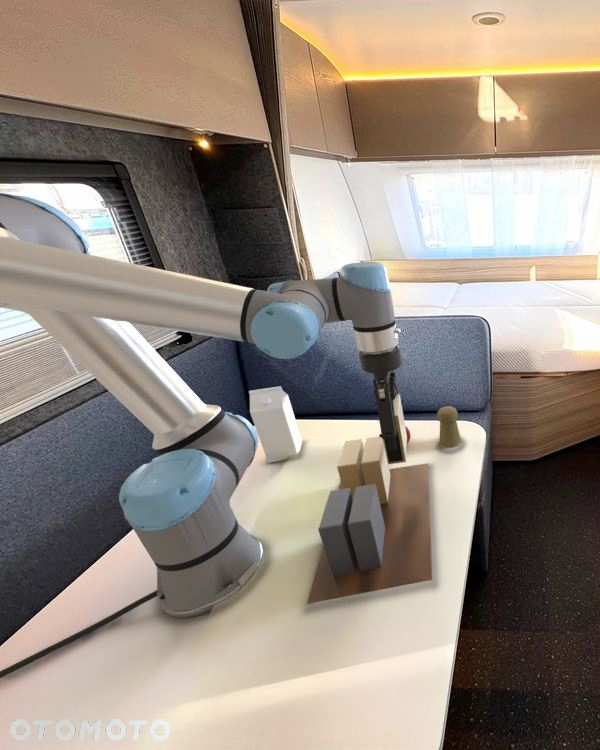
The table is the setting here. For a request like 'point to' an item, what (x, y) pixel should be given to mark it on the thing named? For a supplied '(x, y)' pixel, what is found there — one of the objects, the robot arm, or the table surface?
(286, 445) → the milk carton
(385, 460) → the cream book
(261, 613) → the table surface
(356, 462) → the cream book
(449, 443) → the olive pawn
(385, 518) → the shelf board
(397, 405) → the cream book
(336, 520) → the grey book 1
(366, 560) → the grey rectangular block
